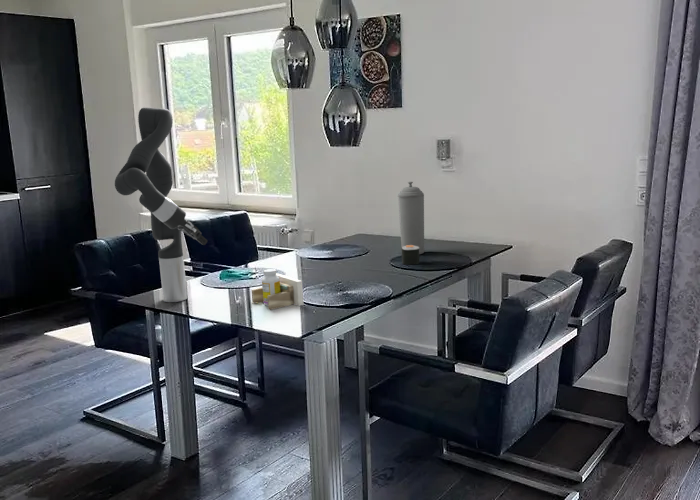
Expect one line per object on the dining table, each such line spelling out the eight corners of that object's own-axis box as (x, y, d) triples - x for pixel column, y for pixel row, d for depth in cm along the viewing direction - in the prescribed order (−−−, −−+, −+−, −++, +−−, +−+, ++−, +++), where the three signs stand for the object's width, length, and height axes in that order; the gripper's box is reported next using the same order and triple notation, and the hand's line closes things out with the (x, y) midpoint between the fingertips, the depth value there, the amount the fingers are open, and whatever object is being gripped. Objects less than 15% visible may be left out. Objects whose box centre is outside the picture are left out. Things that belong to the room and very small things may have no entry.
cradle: (252, 302, 256) (250, 284, 254) (275, 297, 261) (274, 279, 260) (270, 309, 244) (268, 290, 243) (294, 304, 250) (292, 285, 249)
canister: (431, 252, 331) (429, 180, 324) (413, 256, 322) (411, 183, 316) (412, 249, 340) (409, 179, 333) (394, 254, 332) (391, 182, 325)
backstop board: (272, 295, 264) (270, 273, 262) (276, 294, 265) (275, 272, 263) (298, 305, 248) (297, 281, 246) (303, 304, 249) (301, 280, 247)
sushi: (403, 265, 306) (402, 248, 304) (401, 261, 314) (400, 244, 312) (420, 264, 306) (420, 246, 304) (418, 260, 314) (417, 243, 313)
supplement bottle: (281, 300, 256) (278, 267, 253) (282, 305, 249) (279, 271, 247) (263, 302, 255) (260, 269, 253) (263, 307, 249) (261, 272, 246)
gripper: (182, 205, 225) (219, 236, 234) (168, 202, 235) (204, 232, 245) (168, 223, 223) (206, 253, 232) (154, 219, 233) (191, 249, 243)
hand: (205, 242), depth 238 cm, fingers closed
